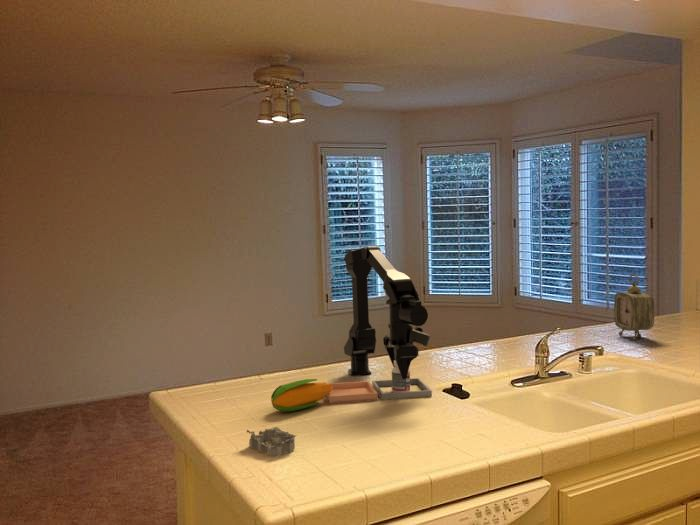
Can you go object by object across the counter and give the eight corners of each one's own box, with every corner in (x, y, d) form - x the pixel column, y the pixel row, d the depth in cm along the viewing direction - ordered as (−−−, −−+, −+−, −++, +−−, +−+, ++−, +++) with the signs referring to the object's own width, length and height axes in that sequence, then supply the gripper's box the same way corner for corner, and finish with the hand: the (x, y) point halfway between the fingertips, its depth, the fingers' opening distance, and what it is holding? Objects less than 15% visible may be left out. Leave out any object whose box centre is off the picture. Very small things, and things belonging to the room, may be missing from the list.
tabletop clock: (613, 334, 262) (614, 273, 261) (635, 334, 263) (635, 272, 262) (633, 341, 248) (634, 276, 246) (655, 340, 249) (656, 275, 247)
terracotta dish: (324, 390, 190) (324, 383, 190) (368, 387, 192) (368, 381, 192) (329, 403, 177) (329, 396, 177) (377, 400, 179) (377, 393, 179)
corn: (263, 383, 170) (323, 369, 183) (263, 411, 171) (322, 395, 184) (280, 390, 164) (340, 375, 178) (280, 419, 165) (339, 402, 179)
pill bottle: (409, 393, 185) (408, 363, 184) (390, 393, 186) (390, 362, 185) (411, 388, 190) (410, 358, 189) (393, 388, 191) (392, 358, 190)
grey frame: (372, 386, 194) (372, 380, 194) (418, 383, 196) (418, 377, 196) (381, 399, 180) (381, 393, 180) (431, 396, 182) (431, 390, 182)
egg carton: (245, 447, 146) (244, 429, 146) (273, 439, 151) (272, 422, 151) (271, 460, 138) (270, 441, 138) (300, 451, 143) (299, 432, 142)
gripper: (436, 325, 178) (437, 381, 180) (418, 314, 197) (419, 365, 198) (396, 327, 177) (397, 383, 178) (382, 316, 195) (383, 368, 196)
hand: (400, 374), depth 188 cm, fingers open, 9 cm apart
